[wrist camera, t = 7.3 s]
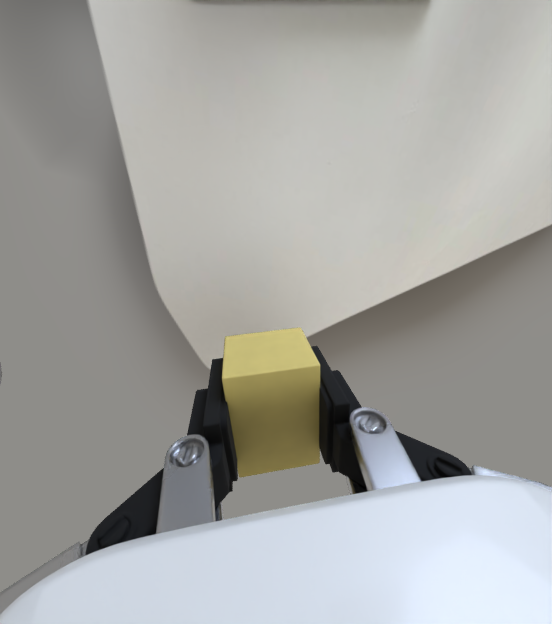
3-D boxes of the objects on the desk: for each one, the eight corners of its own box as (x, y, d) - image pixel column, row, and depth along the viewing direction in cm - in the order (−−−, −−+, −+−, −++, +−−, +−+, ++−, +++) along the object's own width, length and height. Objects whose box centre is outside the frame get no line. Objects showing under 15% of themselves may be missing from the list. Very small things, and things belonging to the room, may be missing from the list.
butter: (303, 411, 14) (319, 463, 11) (238, 421, 13) (239, 478, 11) (300, 326, 12) (320, 364, 9) (224, 335, 11) (221, 378, 9)
